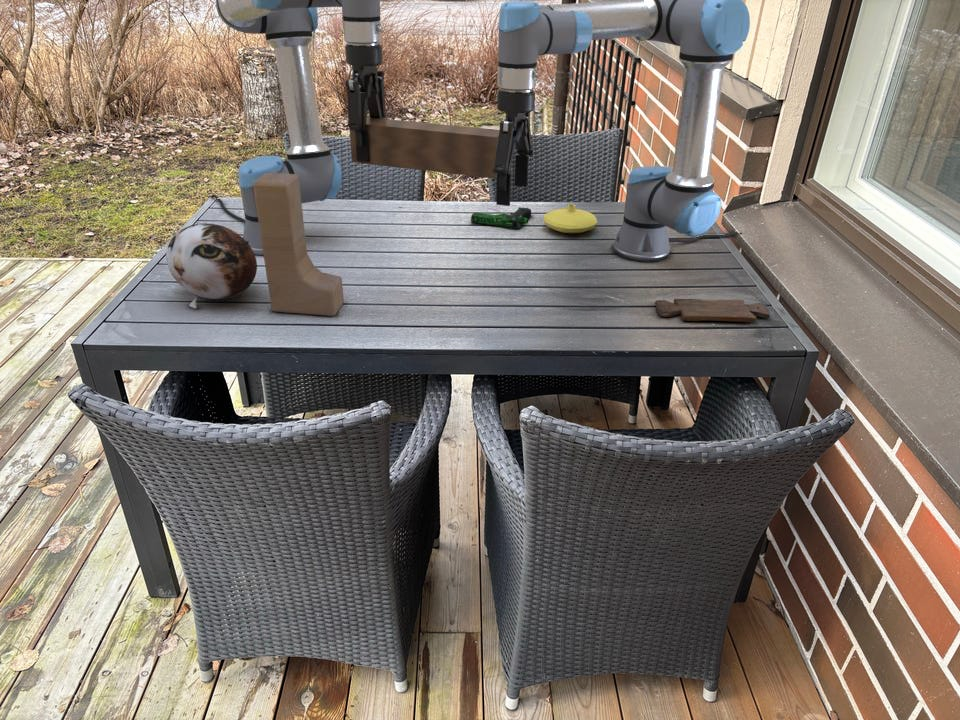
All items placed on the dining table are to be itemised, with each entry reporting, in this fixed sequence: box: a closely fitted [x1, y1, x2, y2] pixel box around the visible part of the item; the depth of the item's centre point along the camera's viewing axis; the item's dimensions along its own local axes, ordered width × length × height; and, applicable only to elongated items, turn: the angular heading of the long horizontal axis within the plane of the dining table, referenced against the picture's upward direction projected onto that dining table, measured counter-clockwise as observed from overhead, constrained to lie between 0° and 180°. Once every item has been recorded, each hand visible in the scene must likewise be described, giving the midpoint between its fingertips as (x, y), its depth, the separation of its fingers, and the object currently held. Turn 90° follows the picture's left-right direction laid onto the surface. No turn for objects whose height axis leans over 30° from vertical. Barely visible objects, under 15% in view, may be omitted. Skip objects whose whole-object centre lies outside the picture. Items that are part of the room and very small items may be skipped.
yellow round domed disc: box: [543, 203, 598, 234], centre depth 209 cm, size 16×16×7 cm
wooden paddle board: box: [654, 298, 771, 323], centre depth 165 cm, size 26×2×10 cm
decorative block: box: [253, 173, 345, 317], centre depth 157 cm, size 8×15×30 cm, turn 82°
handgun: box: [470, 206, 532, 230], centre depth 216 cm, size 16×3×15 cm
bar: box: [348, 116, 504, 180], centre depth 152 cm, size 33×6×8 cm, turn 72°
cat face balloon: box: [165, 222, 258, 309], centre depth 165 cm, size 22×18×20 cm
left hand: (370, 157), depth 157 cm, fingers closed on bar, 6 cm apart
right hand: (512, 195), depth 151 cm, fingers open, 13 cm apart
